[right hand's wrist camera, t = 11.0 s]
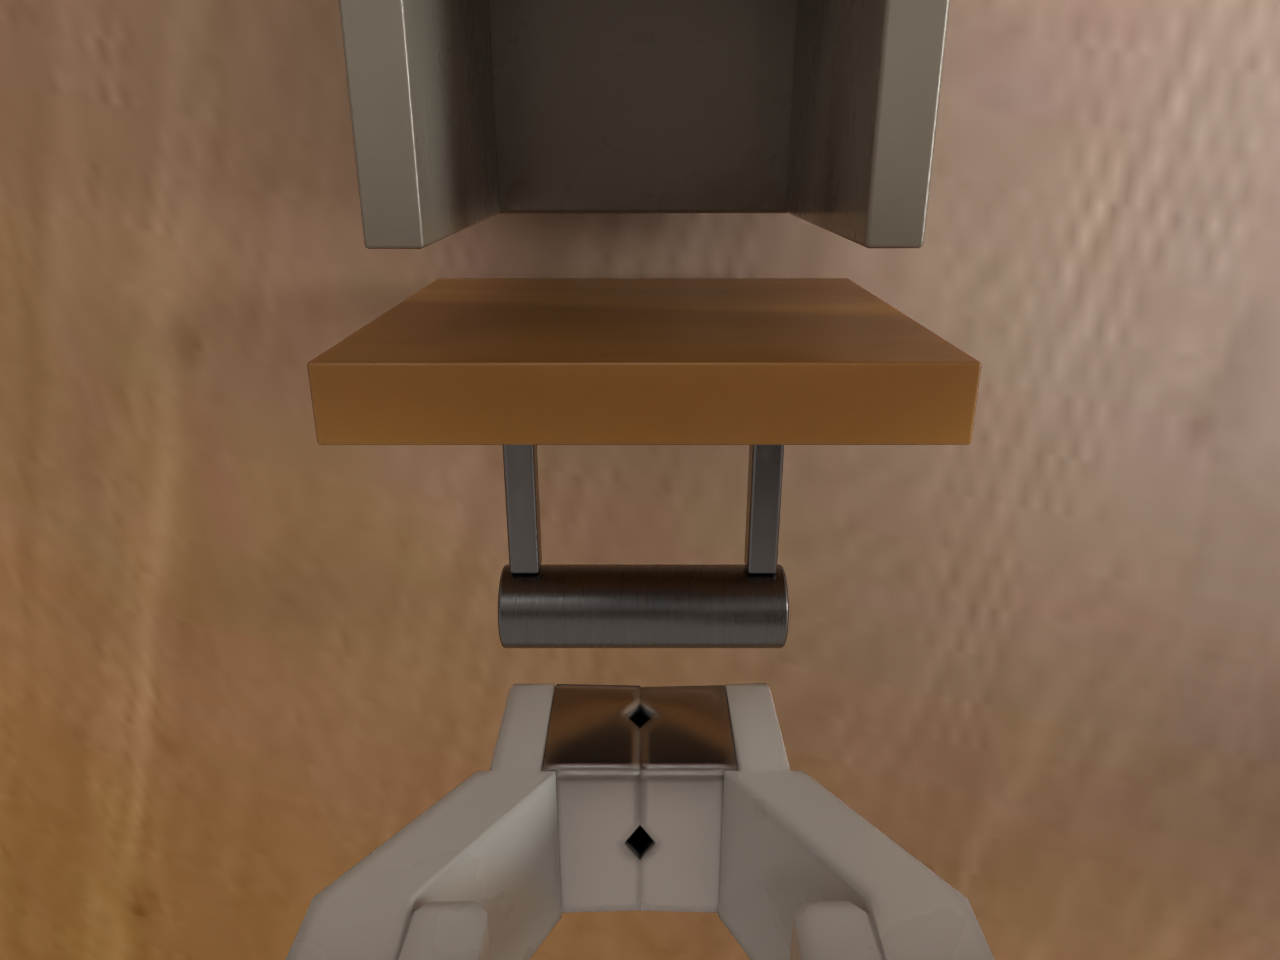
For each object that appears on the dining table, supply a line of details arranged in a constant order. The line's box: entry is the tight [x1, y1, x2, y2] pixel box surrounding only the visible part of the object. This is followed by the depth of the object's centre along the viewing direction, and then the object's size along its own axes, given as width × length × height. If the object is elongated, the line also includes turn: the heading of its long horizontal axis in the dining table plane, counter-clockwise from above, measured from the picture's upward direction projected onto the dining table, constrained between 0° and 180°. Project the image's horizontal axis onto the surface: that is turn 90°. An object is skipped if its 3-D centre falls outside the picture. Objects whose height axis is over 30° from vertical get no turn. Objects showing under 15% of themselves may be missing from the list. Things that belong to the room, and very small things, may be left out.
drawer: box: [307, 0, 981, 648], centre depth 15 cm, size 23×9×8 cm, turn 0°
